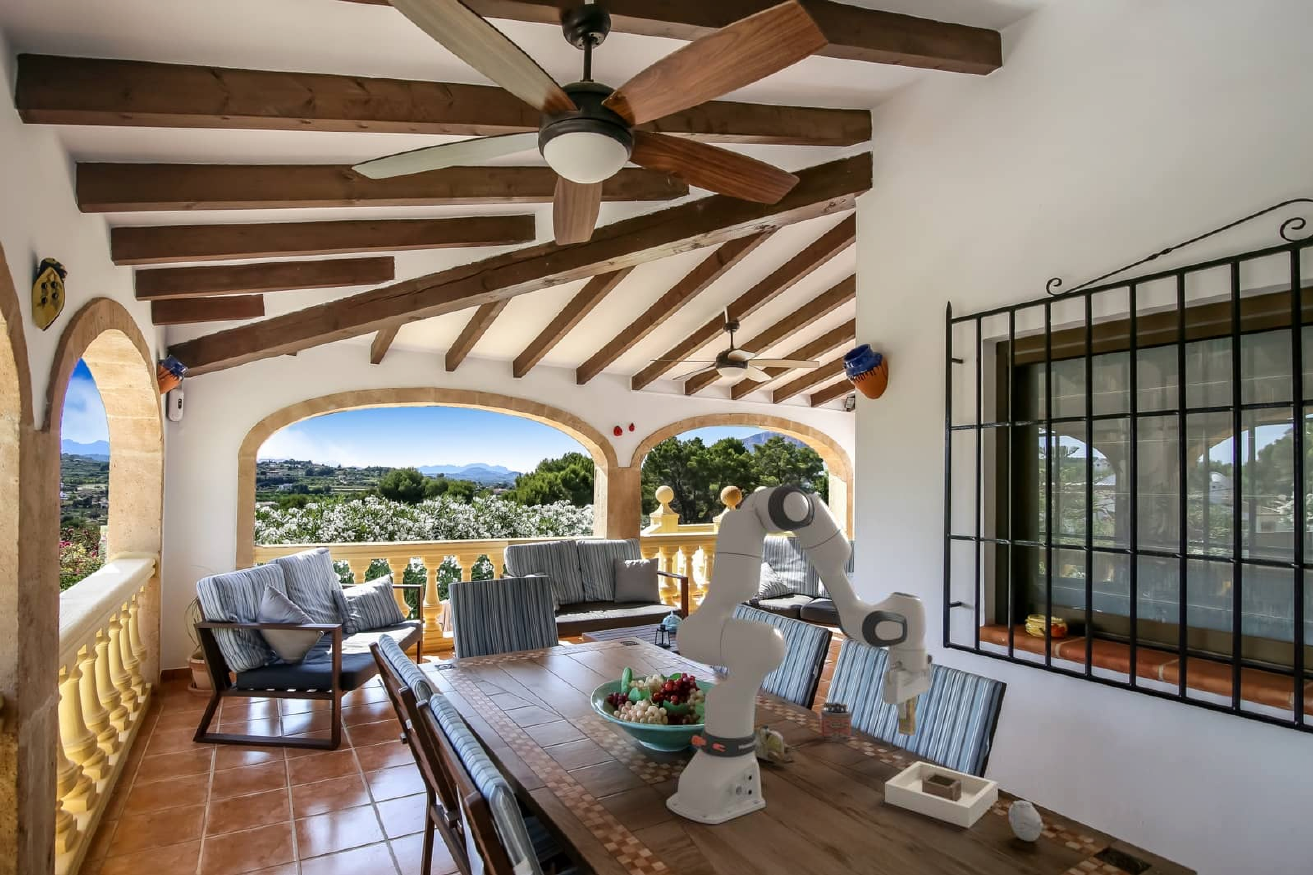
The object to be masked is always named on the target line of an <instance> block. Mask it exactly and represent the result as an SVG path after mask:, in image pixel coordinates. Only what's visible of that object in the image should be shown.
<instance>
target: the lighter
mask: <svg viewBox="0 0 1313 875" xmlns="http://www.w3.org/2000/svg"><path fill="white" fill-rule="evenodd" d="M847 706H848V705H847V703H840V702H839V701H835V702H829V701H827V702H826V701H824V702H823V708H825V709H821V710H820V715H821V734H820V740H821V741H823V742H832V743H851V742H852V737H851V717H852V712H851V711H849V710H847ZM850 741H851V742H850Z"/></svg>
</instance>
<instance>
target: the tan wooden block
mask: <svg viewBox="0 0 1313 875" xmlns="http://www.w3.org/2000/svg"><path fill="white" fill-rule="evenodd" d="M906 710H907V711H908V717H907V718H905V719H903V718H899V717H898V734H900V735H901V734H902V735H905V736H910V737H911V736H914V734H917V733H916V731H917V730H916V719H917V718H916V707H915V697H914V698H911V699H909V700H907V701H906Z"/></svg>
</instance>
